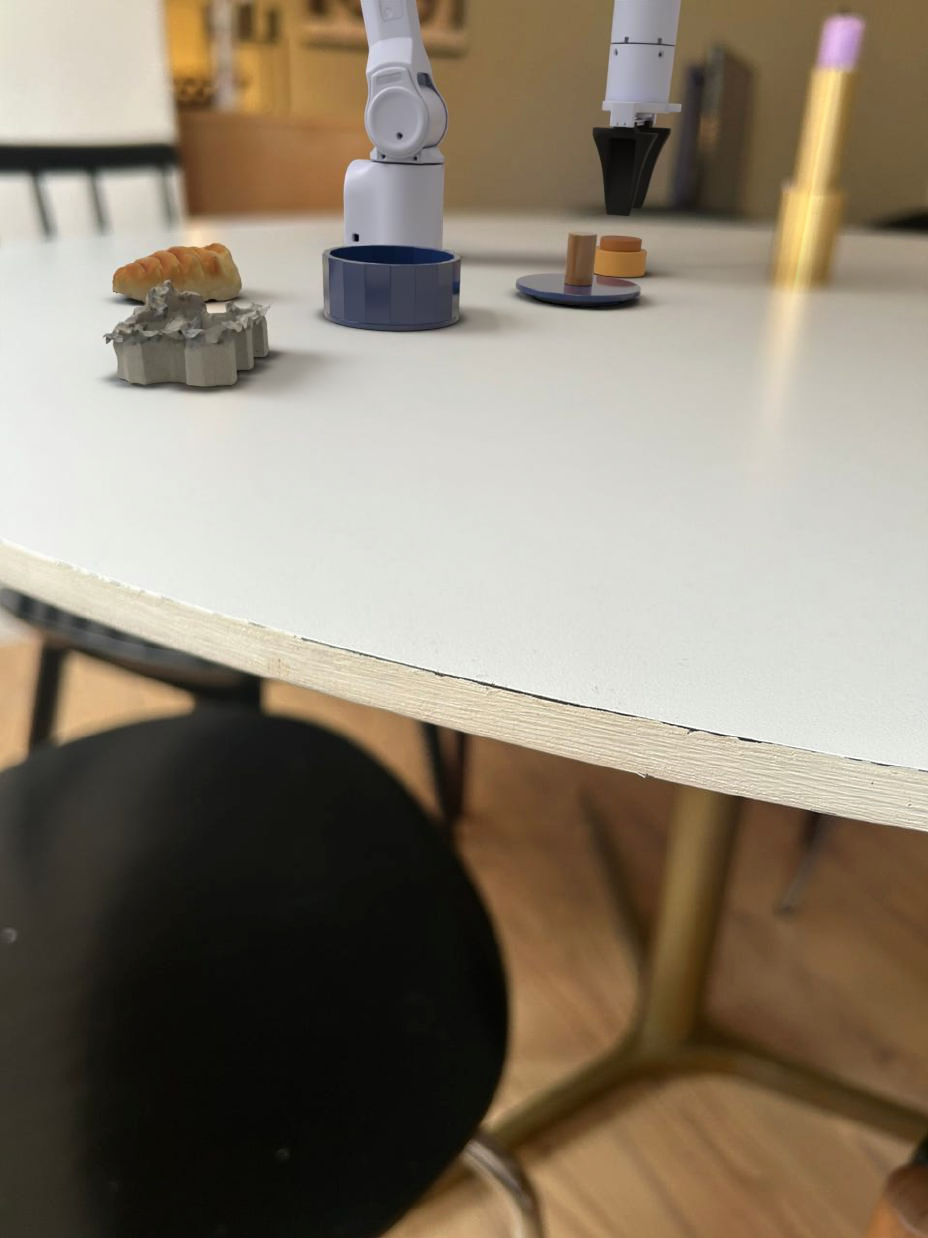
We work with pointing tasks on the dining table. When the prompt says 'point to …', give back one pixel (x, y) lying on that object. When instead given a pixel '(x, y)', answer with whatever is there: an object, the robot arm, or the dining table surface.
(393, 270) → the pot
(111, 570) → the dining table surface
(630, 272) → the stepped round knob
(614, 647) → the dining table surface
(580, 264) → the lid
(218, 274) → the pastry
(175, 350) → the egg carton
